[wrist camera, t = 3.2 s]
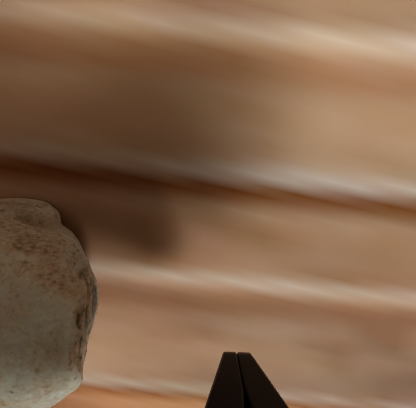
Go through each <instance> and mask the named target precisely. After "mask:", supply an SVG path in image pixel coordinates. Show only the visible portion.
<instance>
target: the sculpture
mask: <svg viewBox="0 0 416 408" xmlns="http://www.w3.org/2000/svg"><path fill="white" fill-rule="evenodd" d="M98 302H99V289H98V284H97V281H96V279H95V276H94V274H93V272H92V270H91V267H90V264H89V262H88V259H87V257H86V255H85V253H84V250H83V248H82V246H81V244H80V242H79V241H78V239H77V238H76V236H75V235H74V234H73V232H72V231H70V230H69V229H68V228H66V227H65V226H63V225H62V223H61V219H60V214H59V212H58V211H57V210H56V209H55V208H54V207H53V206H52V205H50V204H49V203H47V202H44V201H40V200H34V199H27V198H1V199H0V408H50V407H52V406H54V405H55V404H57V403H59V402H60V401H62V400H63V399H64V398H65V397H66V396H67V395H68V394H70V393H72V392H74V391H75V390H76V389H77V388H78V387H79V386H80V384H81V382H82V380H83V364H84V360H85V356H86V352H87V344H88V340H89V336H90V333H91V330H92V327H93V323H94V319H95V316H96V312H97V307H98Z"/></svg>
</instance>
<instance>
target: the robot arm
mask: <svg viewBox="0 0 416 408" xmlns="http://www.w3.org/2000/svg"><path fill="white" fill-rule="evenodd" d="M205 408H288V406H287V405H286V403H285V402H284V400H283V399H282V398H281V396H280V395H279V393H278V392H277V390H276V389H275V388H274V386H273V385H272V383H271V382H270V380H269V379H268V378H267V376H266V375H265V373H264V372H263V370H262V369H261V368H260V366H259V365H258V363H257V362H256V360H255V359H254V358H253V356H252V355H251V354H250V353H244V352H238V353H237V354H236V353H235V352H224V353H223V355H222V358H221V361H220V364H219V367H218V370H217V373H216V376H215V379H214V382H213V385H212V388H211V391H210V394H209V397H208V400H207V403H206V406H205Z"/></svg>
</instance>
